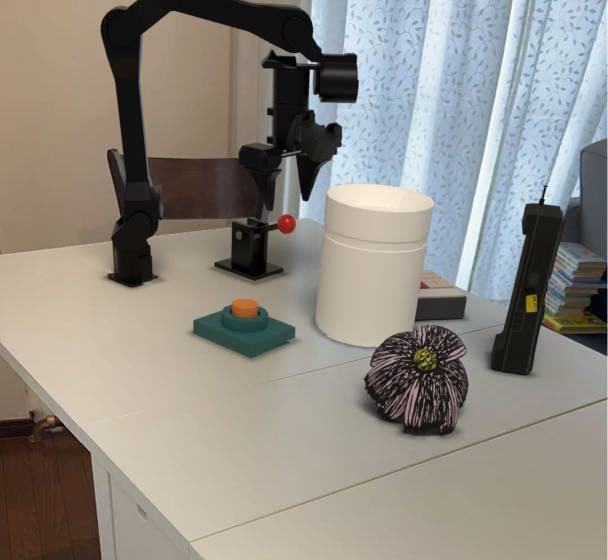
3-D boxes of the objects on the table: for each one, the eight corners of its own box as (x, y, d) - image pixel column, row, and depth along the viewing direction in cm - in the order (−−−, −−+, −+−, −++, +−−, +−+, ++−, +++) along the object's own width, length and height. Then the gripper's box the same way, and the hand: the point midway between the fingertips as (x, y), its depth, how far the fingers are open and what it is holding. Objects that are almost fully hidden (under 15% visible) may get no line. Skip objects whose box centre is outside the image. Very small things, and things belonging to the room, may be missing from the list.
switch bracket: (283, 274, 147) (286, 224, 142) (254, 283, 142) (256, 232, 137) (243, 260, 152) (244, 212, 147) (214, 268, 147) (214, 219, 142)
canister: (301, 334, 125) (312, 200, 113) (331, 302, 138) (344, 178, 126) (400, 354, 122) (421, 219, 110) (422, 320, 134) (443, 194, 122)
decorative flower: (354, 354, 97) (409, 288, 104) (334, 415, 107) (385, 350, 114) (459, 414, 95) (506, 342, 102) (429, 470, 105) (474, 401, 112)
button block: (193, 333, 122) (193, 308, 120) (237, 317, 129) (238, 293, 126) (251, 358, 117) (252, 332, 114) (294, 340, 123) (296, 315, 121)
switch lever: (301, 230, 138) (297, 211, 136) (289, 234, 136) (285, 214, 134) (252, 241, 146) (248, 222, 144) (240, 244, 143) (236, 225, 142)
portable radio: (531, 379, 118) (578, 202, 103) (490, 373, 119) (531, 196, 104) (530, 358, 125) (574, 188, 110) (491, 352, 125) (530, 182, 110)
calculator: (432, 267, 145) (469, 292, 133) (429, 291, 148) (464, 318, 136) (376, 268, 142) (408, 294, 130) (373, 292, 145) (404, 320, 133)
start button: (226, 314, 120) (226, 302, 119) (244, 307, 123) (244, 296, 122) (245, 321, 118) (246, 310, 117) (263, 315, 121) (264, 304, 120)
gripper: (291, 115, 116) (288, 227, 125) (367, 103, 127) (359, 205, 137) (235, 104, 121) (236, 212, 131) (313, 93, 133) (309, 193, 142)
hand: (288, 205), depth 135 cm, fingers open, 9 cm apart
